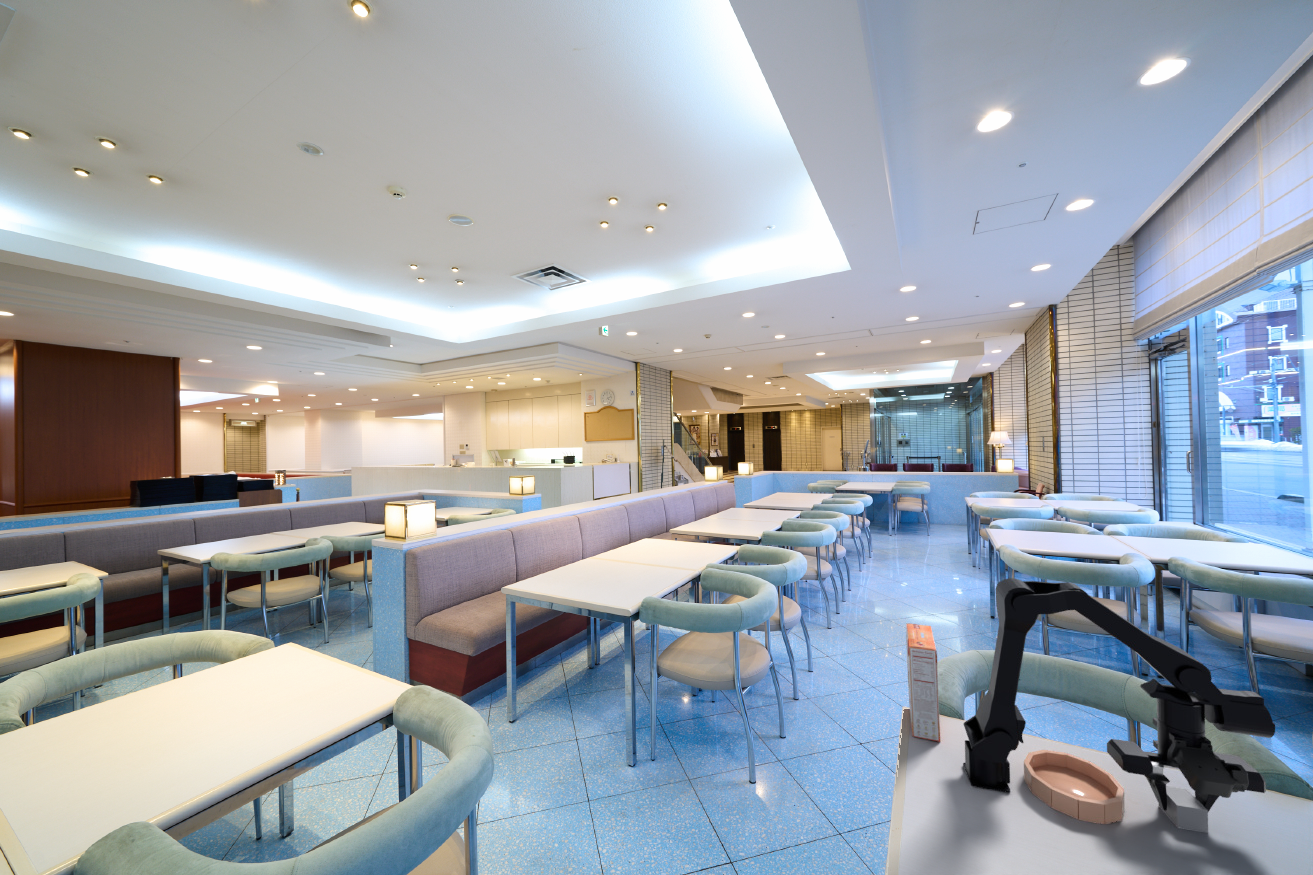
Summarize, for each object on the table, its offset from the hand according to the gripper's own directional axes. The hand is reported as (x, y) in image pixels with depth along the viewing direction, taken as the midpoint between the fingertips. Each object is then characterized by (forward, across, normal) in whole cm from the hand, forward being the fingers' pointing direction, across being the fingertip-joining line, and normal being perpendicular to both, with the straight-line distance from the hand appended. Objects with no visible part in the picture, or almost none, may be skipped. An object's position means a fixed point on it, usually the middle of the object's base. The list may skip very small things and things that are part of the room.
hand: (1182, 811), depth 85 cm
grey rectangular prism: (+1, 0, 0) cm, 1 cm away
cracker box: (+2, -37, +19) cm, 42 cm away
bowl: (+1, -15, +2) cm, 15 cm away
